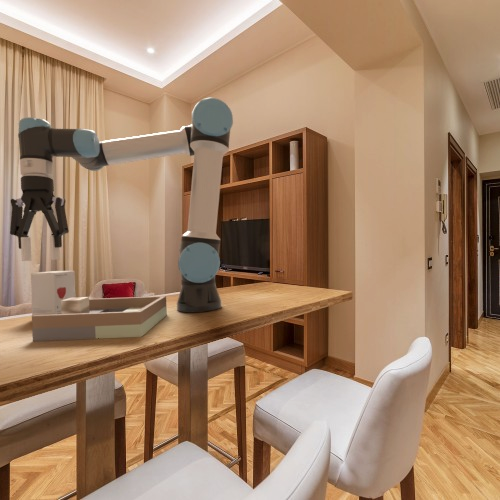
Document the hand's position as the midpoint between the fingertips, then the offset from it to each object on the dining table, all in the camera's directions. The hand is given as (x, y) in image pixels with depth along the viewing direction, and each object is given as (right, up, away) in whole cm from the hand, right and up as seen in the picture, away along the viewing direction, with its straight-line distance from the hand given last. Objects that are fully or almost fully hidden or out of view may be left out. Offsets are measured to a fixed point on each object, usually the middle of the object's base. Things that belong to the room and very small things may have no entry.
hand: (41, 260), depth 87 cm
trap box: (+19, -18, 0) cm, 26 cm away
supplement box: (-5, -19, +15) cm, 25 cm away
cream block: (+10, -16, 0) cm, 18 cm away
